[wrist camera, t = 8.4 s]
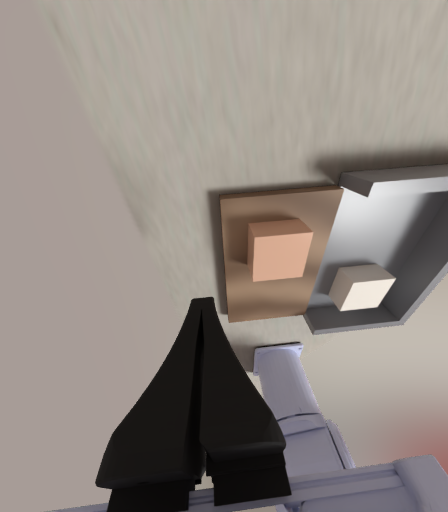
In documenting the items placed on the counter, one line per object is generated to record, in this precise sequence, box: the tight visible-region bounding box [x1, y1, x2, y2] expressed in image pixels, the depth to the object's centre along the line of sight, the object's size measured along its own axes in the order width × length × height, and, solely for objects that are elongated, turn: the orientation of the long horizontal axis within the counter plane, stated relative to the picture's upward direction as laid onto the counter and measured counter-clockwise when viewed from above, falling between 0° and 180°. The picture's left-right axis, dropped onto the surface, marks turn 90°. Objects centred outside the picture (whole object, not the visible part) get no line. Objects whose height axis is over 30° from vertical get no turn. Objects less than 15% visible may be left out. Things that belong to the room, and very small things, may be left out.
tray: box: [303, 164, 448, 335], centre depth 19 cm, size 18×12×4 cm, turn 3°
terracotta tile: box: [247, 219, 314, 282], centre depth 16 cm, size 4×4×2 cm
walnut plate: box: [219, 185, 344, 323], centre depth 19 cm, size 16×10×1 cm, turn 3°
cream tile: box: [328, 264, 396, 311], centre depth 21 cm, size 4×4×2 cm
